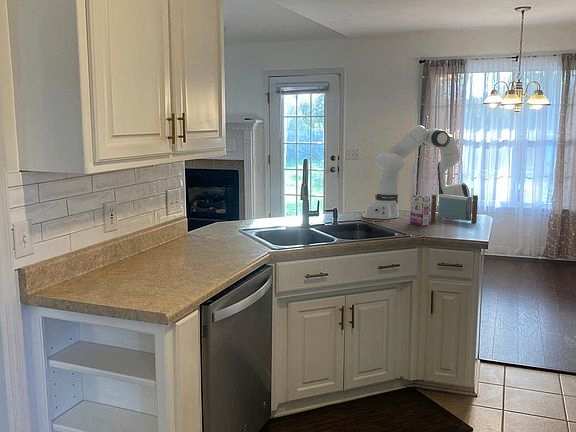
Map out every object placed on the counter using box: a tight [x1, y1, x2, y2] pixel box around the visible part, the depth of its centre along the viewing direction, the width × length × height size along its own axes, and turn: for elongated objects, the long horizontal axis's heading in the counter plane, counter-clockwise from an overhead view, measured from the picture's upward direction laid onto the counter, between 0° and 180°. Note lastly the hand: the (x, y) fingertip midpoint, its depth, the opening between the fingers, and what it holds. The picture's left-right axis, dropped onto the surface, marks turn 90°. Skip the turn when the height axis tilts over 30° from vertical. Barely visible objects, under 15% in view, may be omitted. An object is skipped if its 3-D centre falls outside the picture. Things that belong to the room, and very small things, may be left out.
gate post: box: [471, 194, 479, 225], centre depth 318 cm, size 2×3×16 cm
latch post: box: [430, 194, 437, 224], centre depth 320 cm, size 2×2×16 cm
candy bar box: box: [409, 194, 431, 227], centre depth 314 cm, size 11×5×16 cm, turn 25°
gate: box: [437, 194, 473, 222], centre depth 327 cm, size 23×2×14 cm, turn 35°
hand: (452, 208), depth 335 cm, fingers closed
